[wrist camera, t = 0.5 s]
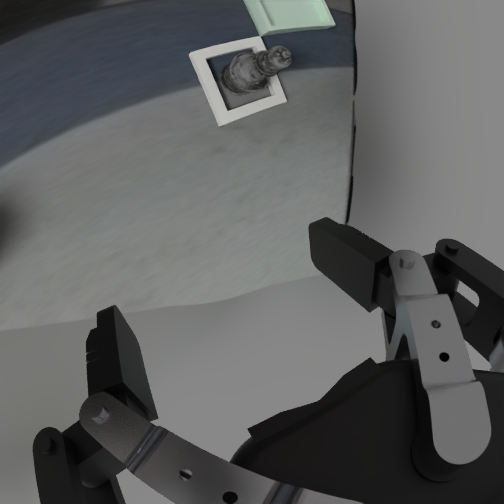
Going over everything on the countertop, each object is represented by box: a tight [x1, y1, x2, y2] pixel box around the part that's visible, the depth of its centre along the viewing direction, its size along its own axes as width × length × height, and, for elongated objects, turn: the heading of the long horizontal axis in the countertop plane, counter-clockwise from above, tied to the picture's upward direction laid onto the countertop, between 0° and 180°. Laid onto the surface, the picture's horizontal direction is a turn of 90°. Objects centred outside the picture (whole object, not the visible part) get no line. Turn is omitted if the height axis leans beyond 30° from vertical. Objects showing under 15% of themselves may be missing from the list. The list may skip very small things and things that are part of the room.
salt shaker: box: [221, 46, 292, 96], centre depth 30 cm, size 6×6×12 cm
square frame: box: [189, 36, 287, 126], centre depth 34 cm, size 11×11×1 cm
